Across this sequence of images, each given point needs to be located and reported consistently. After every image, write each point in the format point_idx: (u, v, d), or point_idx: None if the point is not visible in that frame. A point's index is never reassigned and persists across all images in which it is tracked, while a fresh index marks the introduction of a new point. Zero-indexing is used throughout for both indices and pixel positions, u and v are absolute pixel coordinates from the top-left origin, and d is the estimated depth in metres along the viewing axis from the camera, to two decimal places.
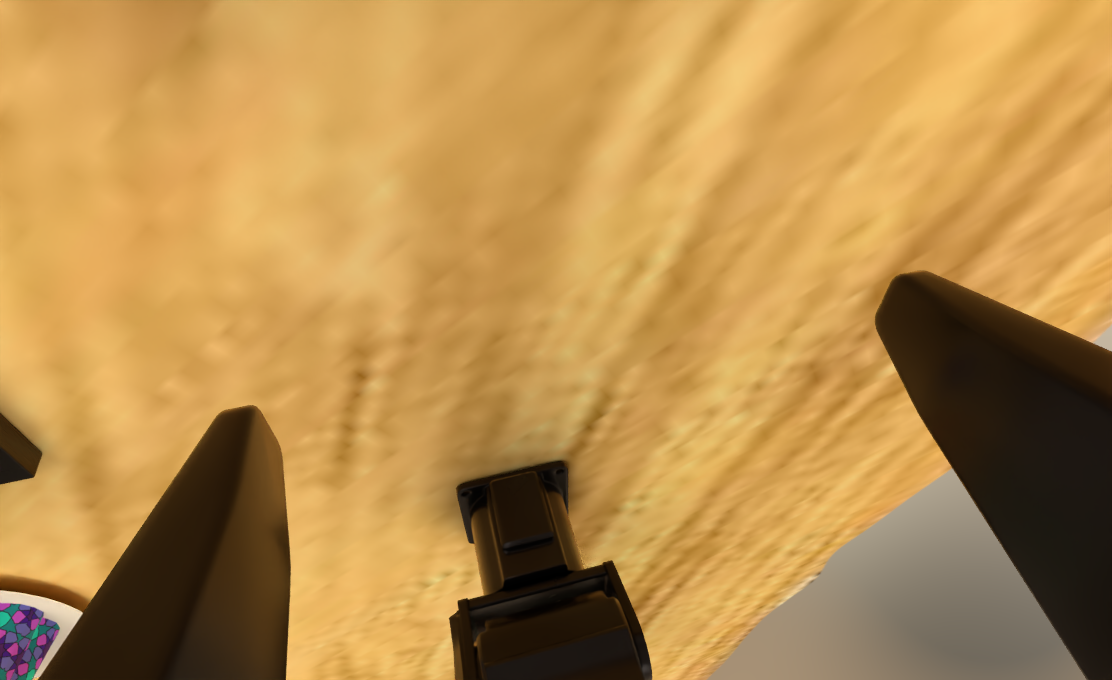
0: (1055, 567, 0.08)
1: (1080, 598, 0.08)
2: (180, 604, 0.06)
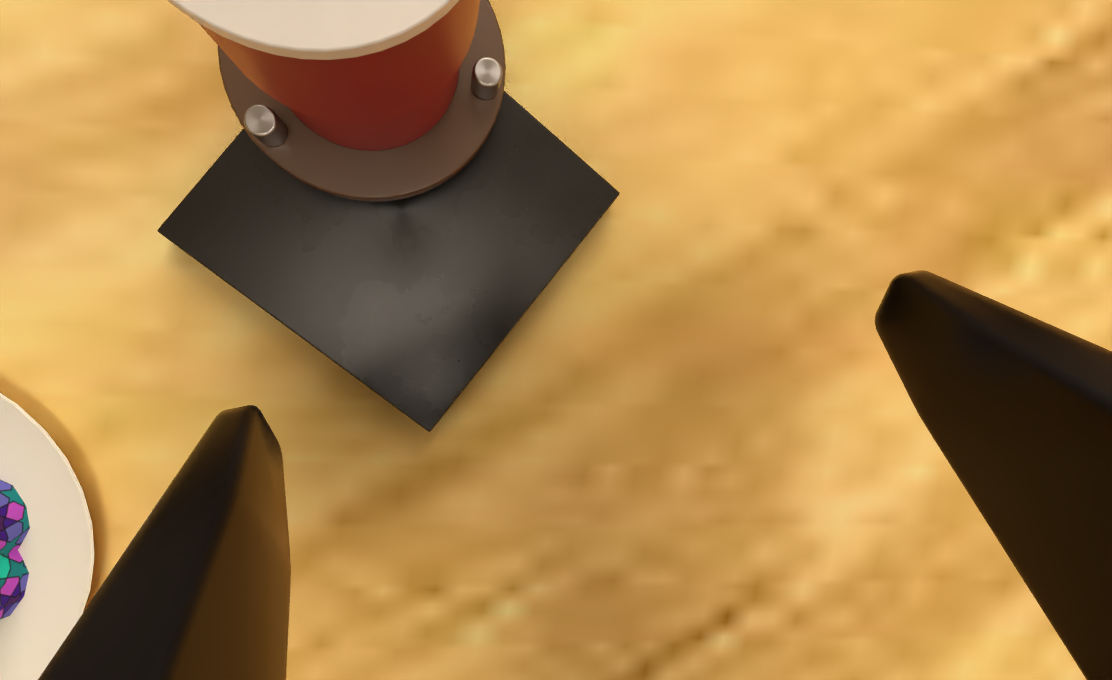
0: (1055, 567, 0.08)
1: (1080, 598, 0.08)
2: (180, 604, 0.06)
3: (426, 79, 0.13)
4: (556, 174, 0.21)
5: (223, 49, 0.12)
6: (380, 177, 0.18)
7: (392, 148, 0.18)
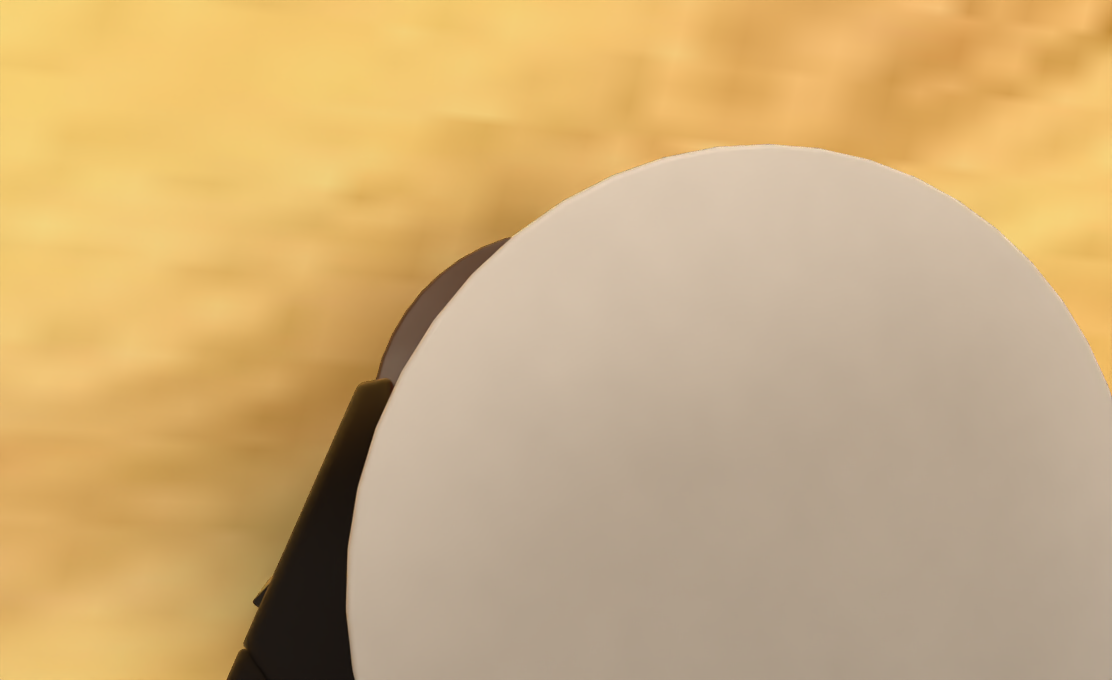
0: None
1: None
2: None
3: None
4: None
5: None
6: None
7: None
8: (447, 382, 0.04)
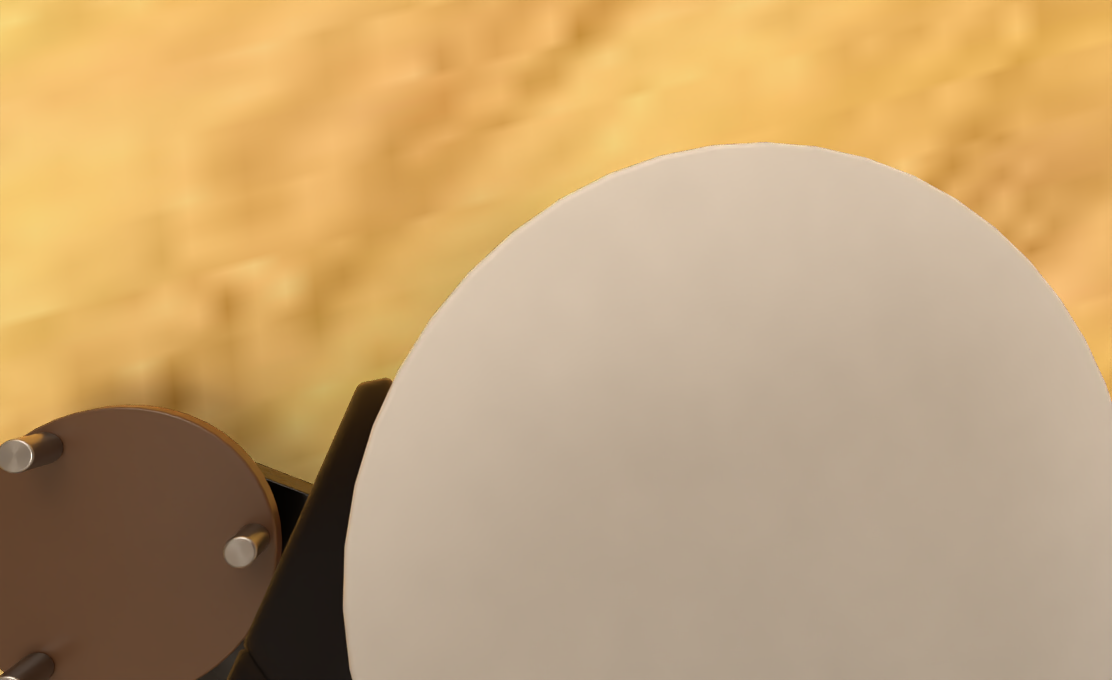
0: None
1: None
2: None
3: None
4: None
5: None
6: (168, 670, 0.16)
7: None
8: (445, 380, 0.04)
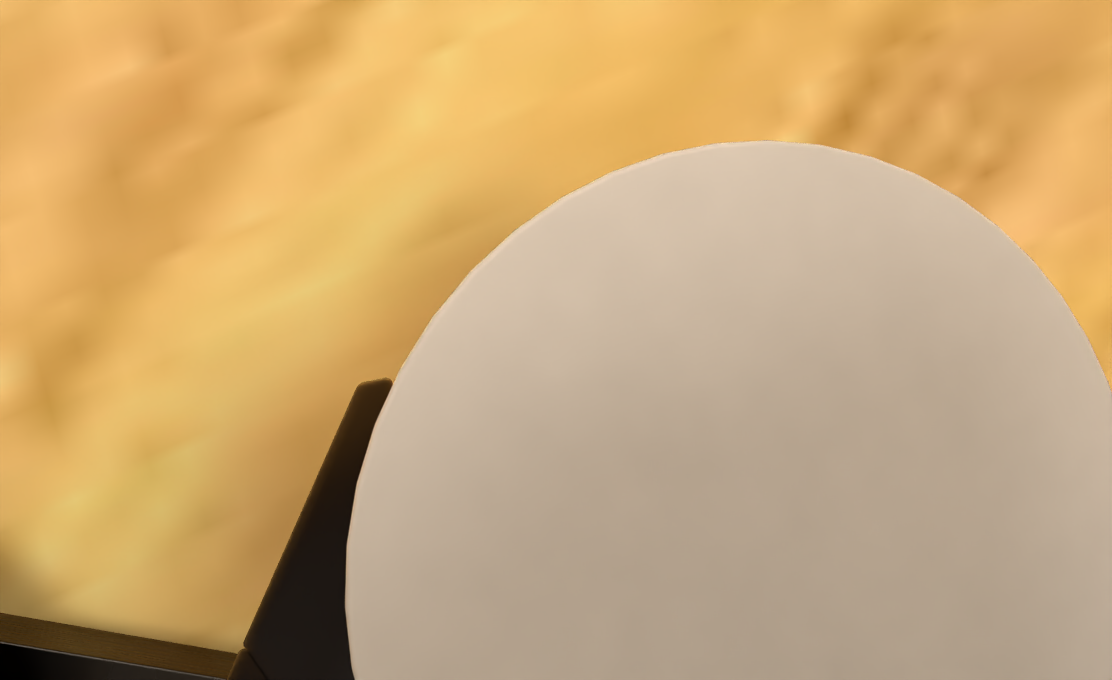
0: None
1: None
2: None
3: None
4: None
5: None
6: None
7: None
8: (447, 379, 0.04)
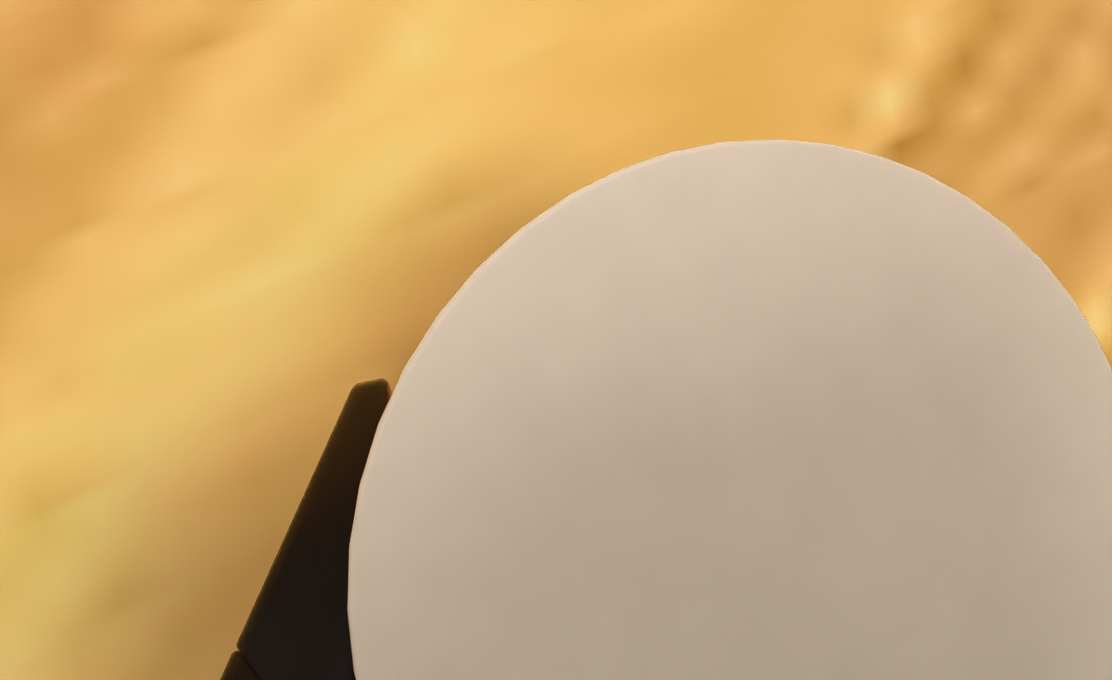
0: None
1: None
2: None
3: None
4: None
5: None
6: None
7: None
8: (452, 378, 0.04)
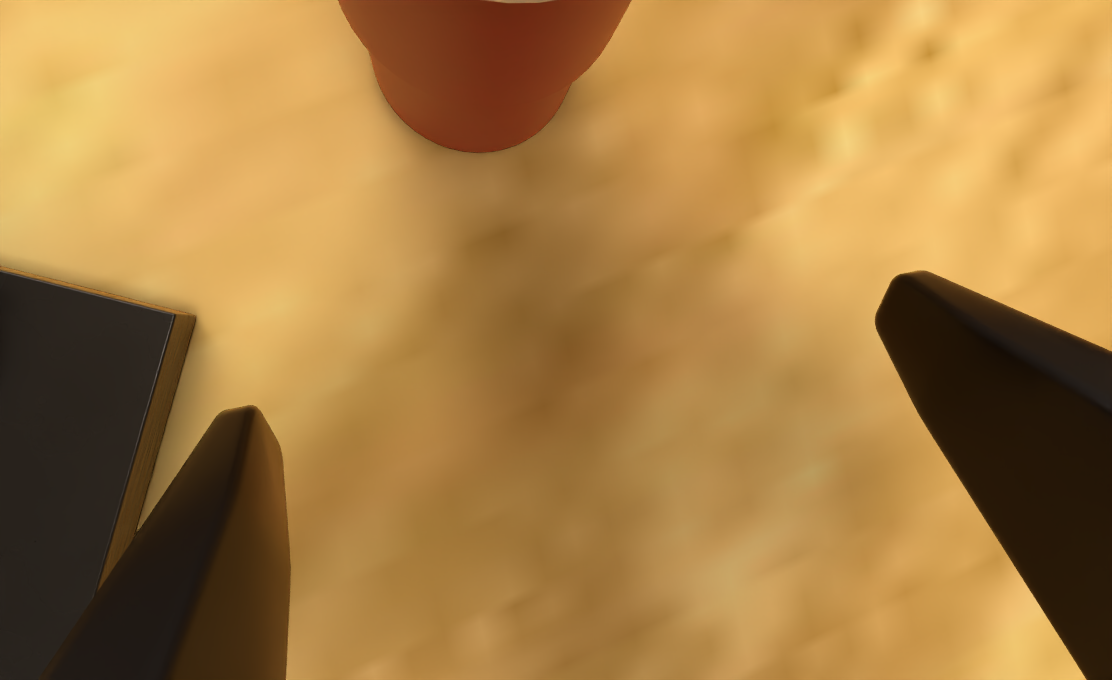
0: (1055, 567, 0.08)
1: (1080, 598, 0.08)
2: (180, 604, 0.06)
3: (575, 58, 0.11)
4: (64, 330, 0.13)
5: (357, 2, 0.10)
6: None
7: None
8: None
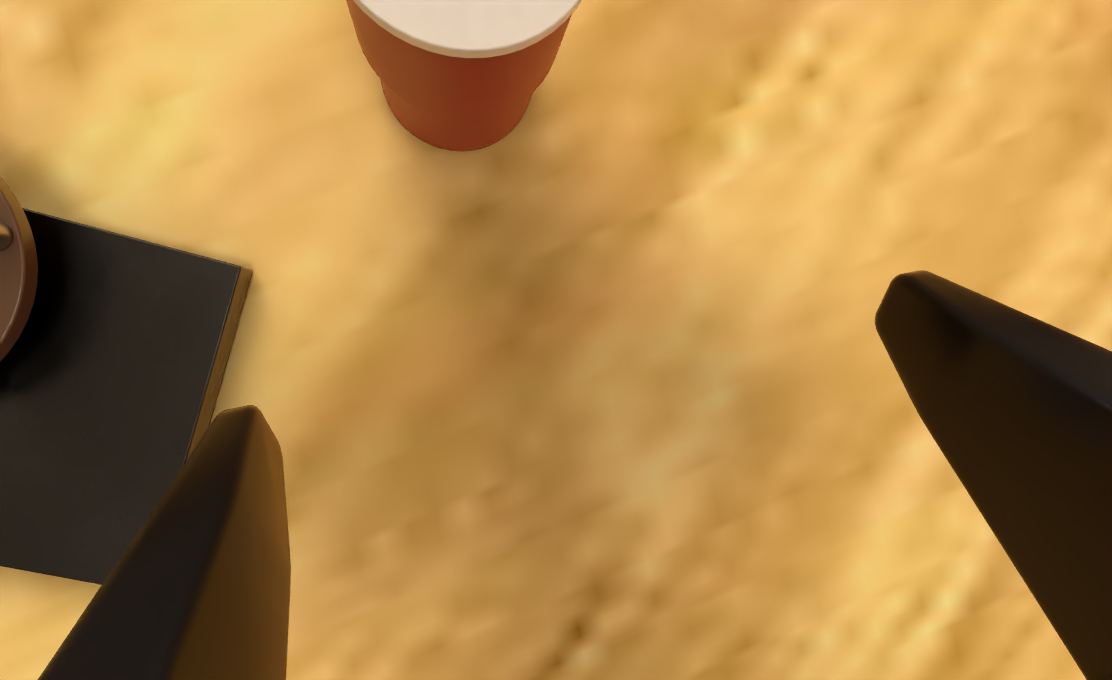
0: (1056, 568, 0.08)
1: (1080, 598, 0.08)
2: (180, 604, 0.06)
3: (520, 86, 0.16)
4: (162, 277, 0.19)
5: (375, 51, 0.15)
6: None
7: None
8: None
